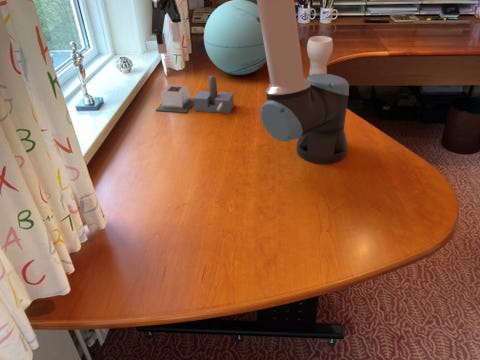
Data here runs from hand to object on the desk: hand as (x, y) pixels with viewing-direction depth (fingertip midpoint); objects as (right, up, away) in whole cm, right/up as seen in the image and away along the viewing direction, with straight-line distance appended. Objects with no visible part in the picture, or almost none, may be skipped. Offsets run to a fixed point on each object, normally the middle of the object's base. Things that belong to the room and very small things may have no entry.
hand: (170, 47), depth 140 cm
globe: (+25, +1, +39) cm, 46 cm away
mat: (0, -18, +13) cm, 22 cm away
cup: (+58, -1, +34) cm, 67 cm away
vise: (+14, -21, +8) cm, 26 cm away
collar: (0, -17, +12) cm, 21 cm away
